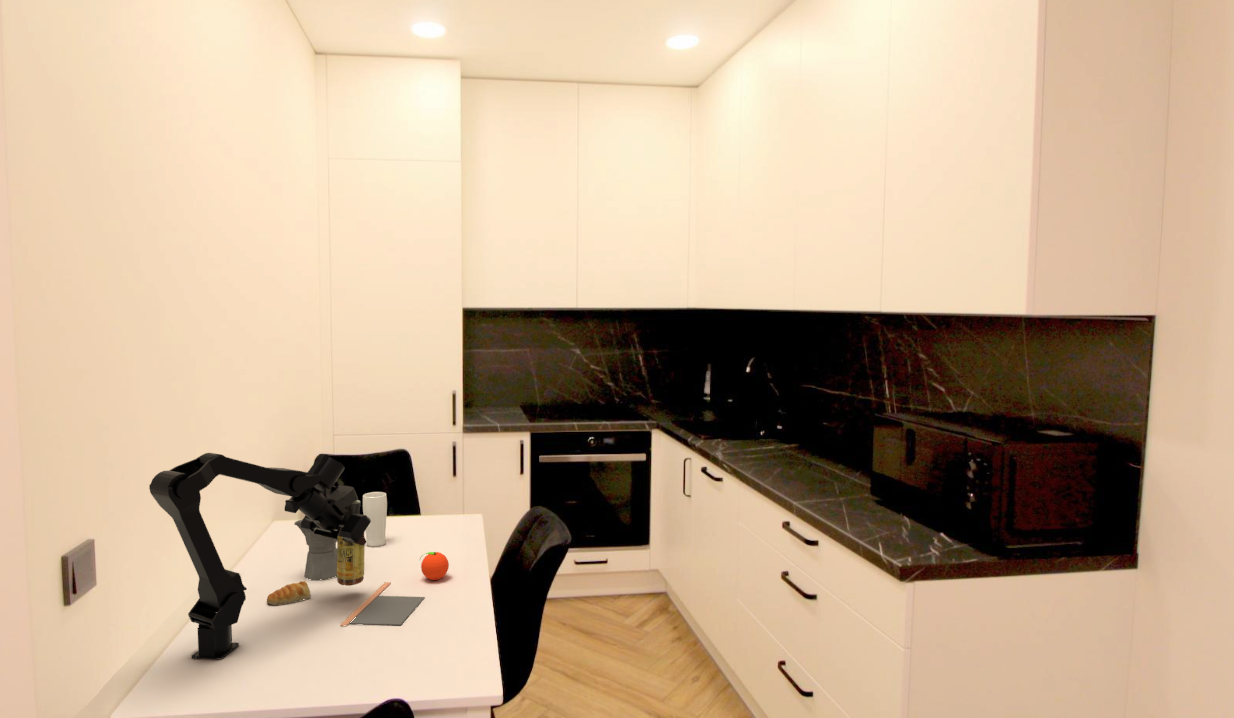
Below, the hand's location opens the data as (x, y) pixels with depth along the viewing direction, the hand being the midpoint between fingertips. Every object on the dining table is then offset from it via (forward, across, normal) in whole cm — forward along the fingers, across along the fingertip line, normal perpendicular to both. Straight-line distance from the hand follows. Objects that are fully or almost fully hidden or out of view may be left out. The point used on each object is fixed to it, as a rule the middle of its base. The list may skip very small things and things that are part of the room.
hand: (355, 541), depth 184 cm
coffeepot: (+14, +19, +5) cm, 24 cm away
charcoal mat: (+7, -14, +11) cm, 20 cm away
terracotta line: (+8, -6, +11) cm, 15 cm away
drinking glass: (+30, +28, -12) cm, 43 cm away
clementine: (+22, -8, -3) cm, 23 cm away
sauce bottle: (+6, 0, +8) cm, 10 cm away
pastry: (+3, +12, +17) cm, 21 cm away
